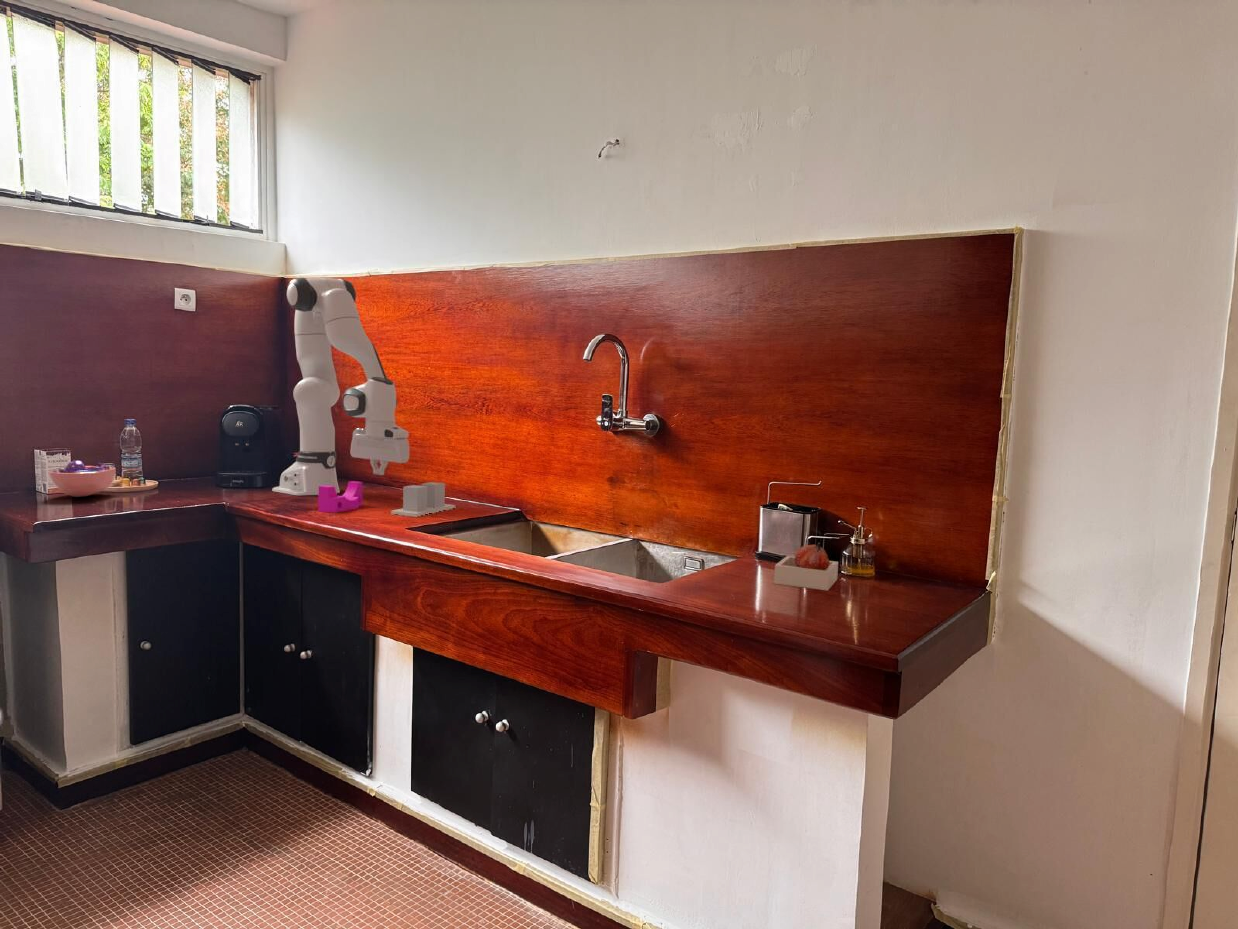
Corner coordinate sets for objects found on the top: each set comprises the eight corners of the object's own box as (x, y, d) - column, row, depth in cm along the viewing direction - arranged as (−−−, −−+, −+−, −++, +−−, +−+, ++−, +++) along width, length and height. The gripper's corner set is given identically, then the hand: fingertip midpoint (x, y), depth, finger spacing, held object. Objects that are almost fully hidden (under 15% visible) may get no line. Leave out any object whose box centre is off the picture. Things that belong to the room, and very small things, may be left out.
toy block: (335, 513, 257) (335, 488, 256) (318, 511, 259) (318, 486, 258) (368, 506, 271) (368, 482, 270) (352, 504, 273) (352, 481, 272)
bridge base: (391, 514, 257) (391, 487, 257) (431, 505, 276) (431, 480, 275) (416, 517, 254) (416, 489, 253) (455, 508, 272) (455, 482, 271)
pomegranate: (783, 572, 193) (795, 532, 190) (813, 574, 195) (825, 534, 192) (797, 589, 187) (809, 548, 183) (827, 591, 188) (840, 550, 185)
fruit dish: (773, 583, 188) (774, 565, 188) (786, 573, 198) (787, 555, 198) (827, 590, 183) (828, 572, 183) (837, 579, 194) (838, 561, 193)
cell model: (131, 492, 280) (131, 457, 278) (83, 501, 260) (82, 464, 259) (85, 489, 282) (84, 455, 281) (34, 498, 263) (33, 460, 262)
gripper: (346, 427, 271) (345, 471, 272) (400, 433, 263) (398, 478, 264) (360, 427, 276) (358, 470, 278) (413, 432, 268) (411, 477, 270)
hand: (378, 474), depth 271 cm, fingers closed
